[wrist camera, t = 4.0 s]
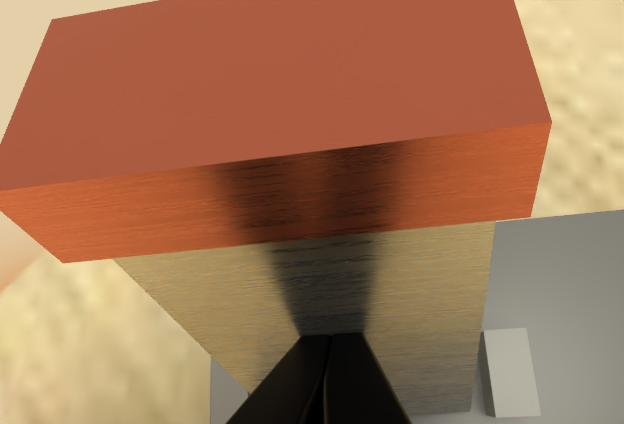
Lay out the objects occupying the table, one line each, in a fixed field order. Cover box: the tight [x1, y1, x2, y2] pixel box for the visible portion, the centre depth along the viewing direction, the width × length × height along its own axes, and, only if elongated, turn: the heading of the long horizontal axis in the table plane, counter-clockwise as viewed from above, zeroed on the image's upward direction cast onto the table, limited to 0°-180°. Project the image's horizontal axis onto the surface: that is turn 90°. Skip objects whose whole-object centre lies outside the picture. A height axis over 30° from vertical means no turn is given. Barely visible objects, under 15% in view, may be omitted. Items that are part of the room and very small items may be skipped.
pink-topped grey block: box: [0, 0, 552, 415], centre depth 8 cm, size 2×4×9 cm, turn 93°
